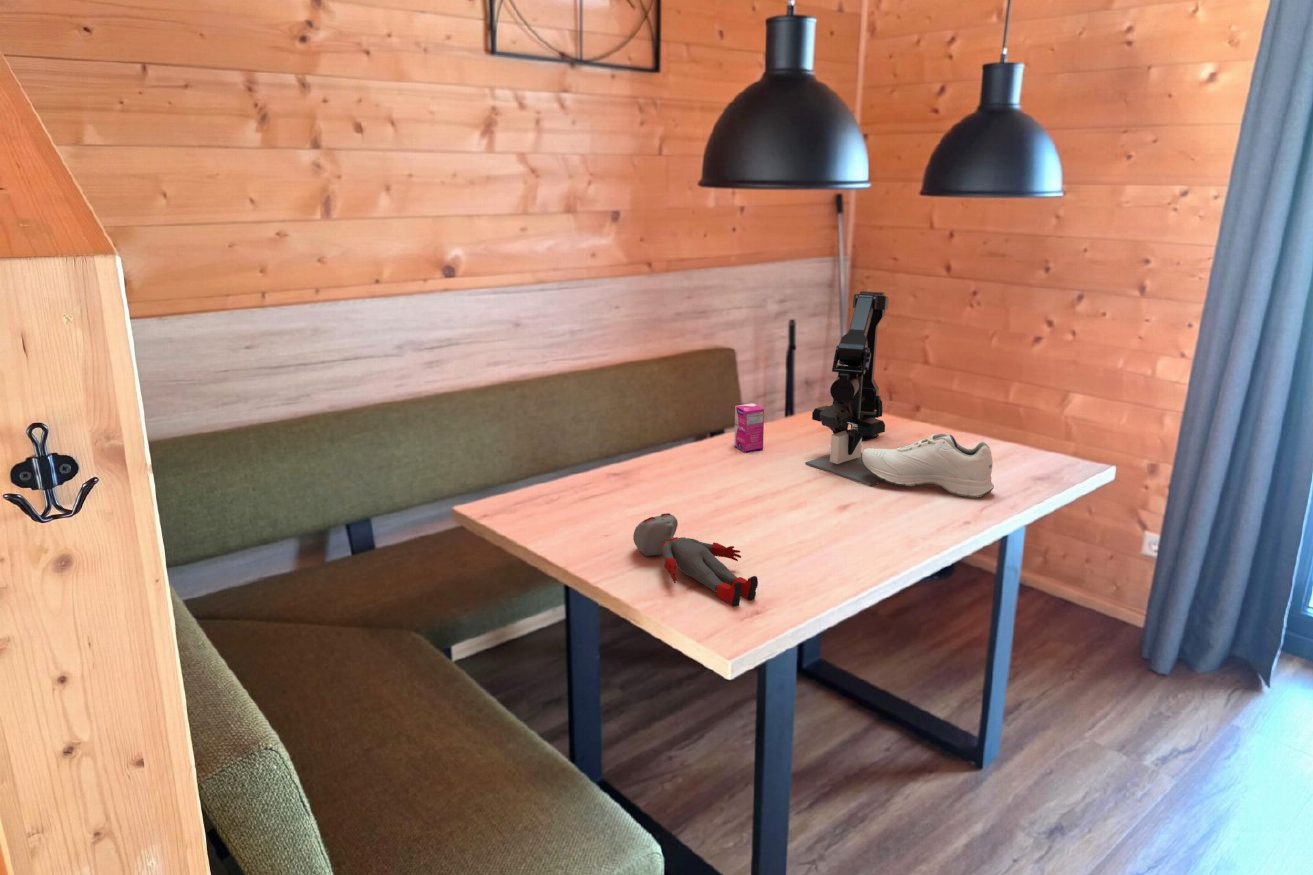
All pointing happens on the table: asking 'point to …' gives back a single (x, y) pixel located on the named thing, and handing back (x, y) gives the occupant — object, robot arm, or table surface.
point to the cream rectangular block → (842, 448)
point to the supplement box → (749, 427)
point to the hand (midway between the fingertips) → (845, 453)
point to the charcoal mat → (846, 469)
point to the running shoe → (934, 465)
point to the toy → (693, 558)
